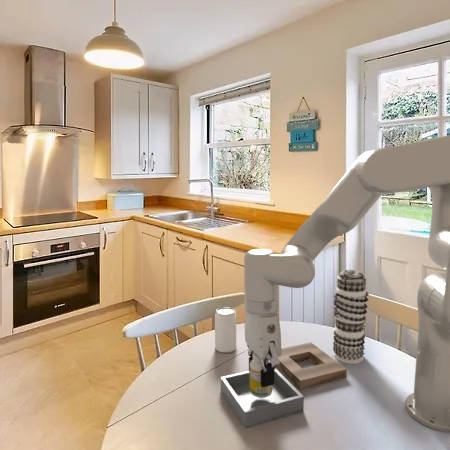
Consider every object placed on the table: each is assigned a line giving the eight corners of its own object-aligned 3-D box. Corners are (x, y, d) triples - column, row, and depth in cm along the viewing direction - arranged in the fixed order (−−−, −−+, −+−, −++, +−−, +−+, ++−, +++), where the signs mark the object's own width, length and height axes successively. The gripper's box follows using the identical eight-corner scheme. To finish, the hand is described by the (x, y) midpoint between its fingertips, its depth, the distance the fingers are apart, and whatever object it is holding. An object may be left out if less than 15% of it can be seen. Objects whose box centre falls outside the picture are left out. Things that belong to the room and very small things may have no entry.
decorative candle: (370, 364, 104) (374, 277, 100) (336, 364, 104) (339, 277, 100) (359, 348, 113) (363, 267, 109) (328, 348, 113) (331, 267, 110)
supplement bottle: (260, 401, 84) (260, 361, 83) (244, 390, 89) (244, 352, 87) (277, 392, 88) (277, 354, 86) (261, 382, 92) (261, 345, 90)
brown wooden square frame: (346, 377, 98) (346, 368, 97) (300, 390, 93) (300, 380, 92) (310, 350, 112) (311, 342, 112) (269, 359, 107) (269, 351, 107)
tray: (303, 411, 85) (303, 396, 84) (245, 427, 79) (245, 412, 79) (272, 378, 98) (272, 365, 97) (220, 390, 93) (220, 377, 92)
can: (223, 341, 119) (222, 305, 117) (240, 347, 115) (240, 309, 113) (210, 349, 113) (210, 311, 112) (228, 355, 110) (228, 316, 108)
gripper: (296, 315, 78) (294, 395, 81) (259, 290, 94) (259, 358, 97) (263, 321, 76) (263, 403, 78) (231, 294, 91) (232, 364, 94)
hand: (261, 377), depth 88 cm, fingers closed on supplement bottle, 5 cm apart
